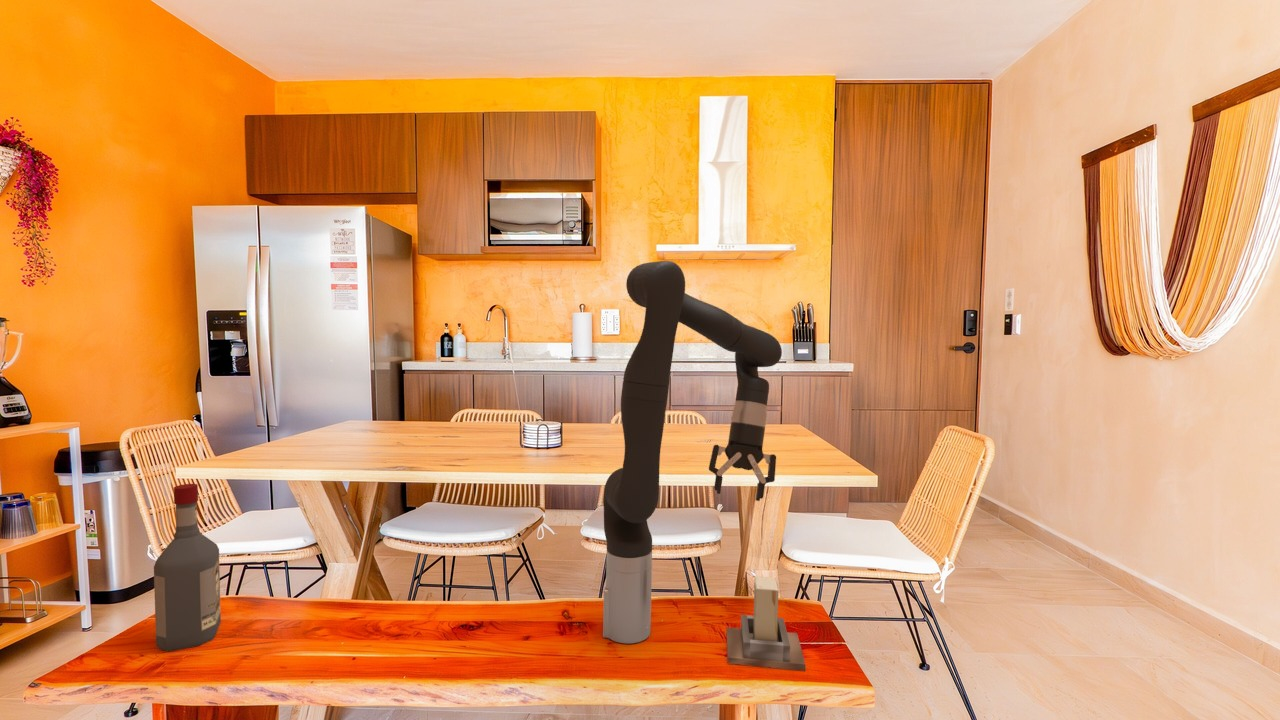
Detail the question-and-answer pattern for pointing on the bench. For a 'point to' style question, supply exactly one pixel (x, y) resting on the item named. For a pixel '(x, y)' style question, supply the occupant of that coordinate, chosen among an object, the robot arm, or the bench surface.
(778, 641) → the serum holder
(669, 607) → the bench surface
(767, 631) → the skincare box
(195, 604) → the liquor
